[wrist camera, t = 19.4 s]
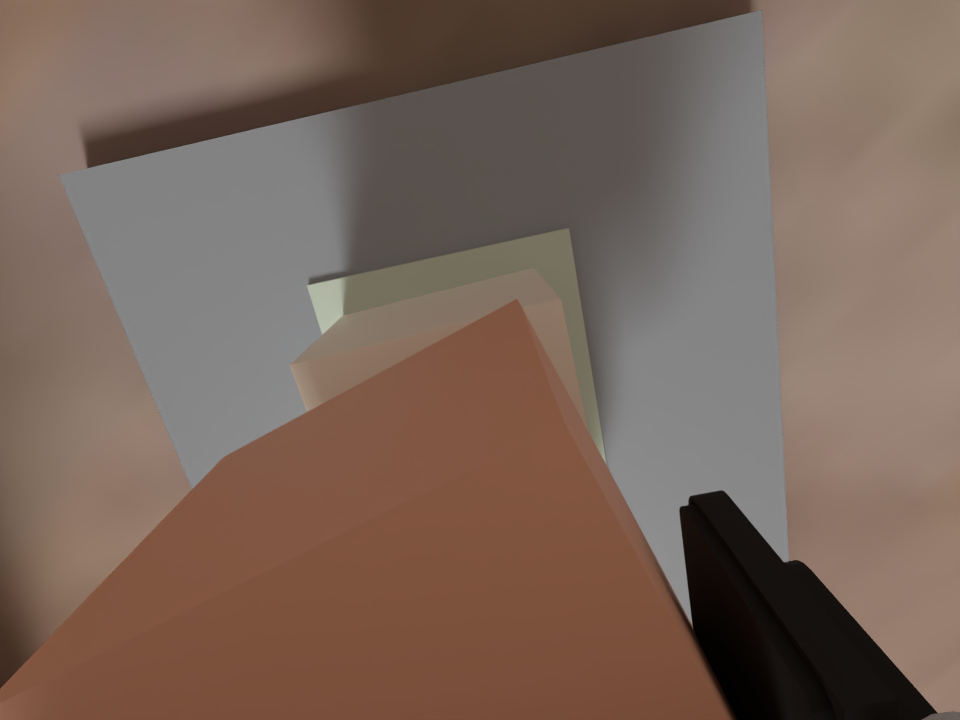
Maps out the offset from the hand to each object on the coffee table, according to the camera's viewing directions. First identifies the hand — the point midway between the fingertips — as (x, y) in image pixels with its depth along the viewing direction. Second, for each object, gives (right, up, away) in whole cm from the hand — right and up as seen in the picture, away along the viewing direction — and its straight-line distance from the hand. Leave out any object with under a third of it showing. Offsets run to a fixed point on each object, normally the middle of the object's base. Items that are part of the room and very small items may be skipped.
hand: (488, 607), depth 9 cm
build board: (0, +3, +9) cm, 10 cm away
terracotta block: (0, 0, +1) cm, 1 cm away
